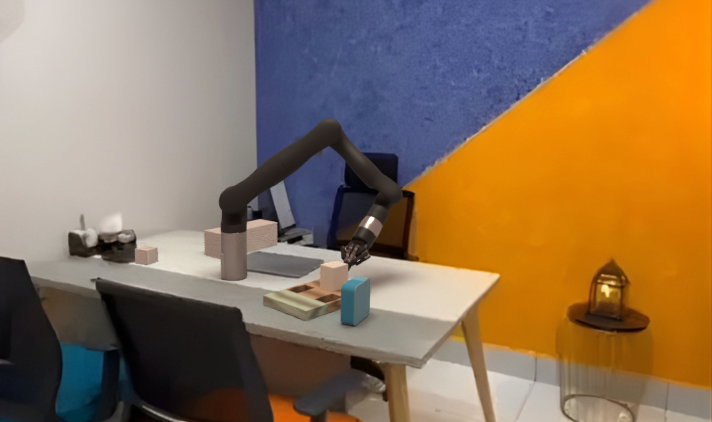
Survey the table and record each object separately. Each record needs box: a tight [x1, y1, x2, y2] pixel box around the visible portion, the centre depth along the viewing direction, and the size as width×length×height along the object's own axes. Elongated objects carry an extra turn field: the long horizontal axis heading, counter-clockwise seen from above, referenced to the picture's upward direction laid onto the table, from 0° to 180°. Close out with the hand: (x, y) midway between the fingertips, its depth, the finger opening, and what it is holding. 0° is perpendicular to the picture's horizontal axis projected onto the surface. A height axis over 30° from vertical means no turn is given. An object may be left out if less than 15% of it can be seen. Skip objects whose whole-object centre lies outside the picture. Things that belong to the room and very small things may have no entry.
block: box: [319, 260, 349, 292], centre depth 195 cm, size 7×6×8 cm
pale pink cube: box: [134, 245, 159, 266], centre depth 231 cm, size 6×6×6 cm
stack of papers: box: [203, 218, 278, 260], centre depth 253 cm, size 32×11×11 cm, turn 143°
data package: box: [340, 275, 372, 327], centre depth 175 cm, size 12×4×12 cm, turn 157°
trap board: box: [262, 278, 341, 321], centre depth 190 cm, size 26×20×3 cm
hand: (342, 272), depth 198 cm, fingers closed
